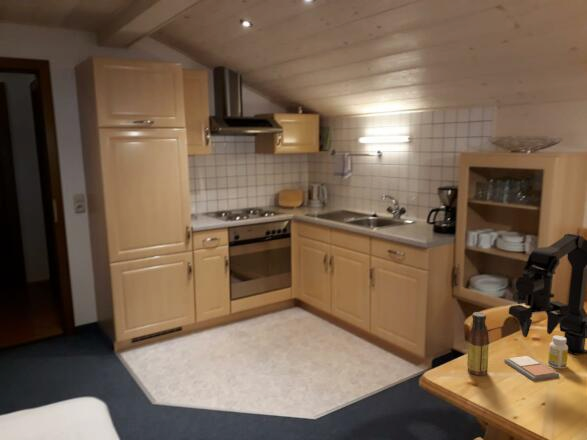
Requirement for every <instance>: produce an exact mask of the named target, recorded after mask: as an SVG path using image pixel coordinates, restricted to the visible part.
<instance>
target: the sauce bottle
mask: <svg viewBox="0 0 587 440" xmlns="http://www.w3.org/2000/svg"><path fill="white" fill-rule="evenodd" d="M471 318H472V326H471V328H470V330H469V332H468V337H467V359H466V360H467V361H466V362H467V364H466V365H467V371H468V372H469V373H470V374H471V375H475V376H479V377H480V376H486V375H487V374H488V368H489V332H488V331H487V328H486V319H487V315H486V313H484V312H481V311H479V312H478V311H474V312H473V313H472V317H471Z"/></svg>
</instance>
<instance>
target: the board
mask: <svg viewBox="0 0 587 440" xmlns="http://www.w3.org/2000/svg"><path fill="white" fill-rule="evenodd" d="M503 362H504V363H505V364H506V365H508V366H510V367H512V368H513V369H514V370H516V371H518V372H519V373H520V374H522V375H523V376H525V377H526V378H528V379H529V380H531V381H533V382H535V381H540V380H546V379H551V378H553V379H555V378H558V377H560V373H559V372H557V371H555V370H554V369H553V368H551V367H549V366H547V365H545V364H544V363H542V362H541V361H539V360H537V359H535V358H533V357H532V356H530V355H524V356H517V357H510V358H505V359H504V361H503Z"/></svg>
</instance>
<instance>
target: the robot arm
mask: <svg viewBox="0 0 587 440" xmlns="http://www.w3.org/2000/svg"><path fill="white" fill-rule="evenodd" d="M566 255H567V261H568V263H569V264H570V266H571V273H570V282H569V283H570V284H569V289H568V290H569V291H568V292H569V293H568V299H567V304H566V303H564V302H561V301H559V300H553V301H551V299H552V298H555V294H554V293H553V292H552V288H553V276H554V275H555V274H556V269H557V268H558V267H559V265H560V260H561V259H562V258H563V257H565V256H566ZM522 270H523V271H524V272H522V276H521V277H519V278H518V279H516V282H515V287H516V290H517V291H513V292H512V300H513V301H514V302H517V304H516V305H511V306H509V308H508V315H510V316H512V317H513V318H516V320H517V322H518V324H519V327H520V329H521V333H522V336H523V337H524V338H527V337H528V335H529V332H530V329H531V326H532V325H531V324H532V323H533V320H532V319H531V318H532V317H533V314H534V315H535V314H542V313H544V314H545V313H546V315H547V323H546V324H547V325H546V333H547V334H548V335H551V334H552V333H553V331H555V329H556V327H557V326H558V325H559V331H560V332H562V333H564V336H563V337H565V338H566V345H567V346H568V353H570V354H572V355H579V354H586V353H587V349H585V345H586V339H587V312H586V310H585V308H584V306H585V300H586V299H585V297H586V290H587V289H586V288H587V239H585V238H584V237H583V236H582V235H579V234H575V233H565V234H564V235H563V236H562V237H561V238H560V239H558V240H556V241H555V242H554V243H552V244H551V245H549V246H542V247H537V248H535V249H533V250H532V251H531V253H529V256H528V258H527V261H526V263H525V265H524V267H523V269H522ZM522 304H524V305H522ZM525 306H527V307H525Z"/></svg>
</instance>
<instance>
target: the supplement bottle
mask: <svg viewBox="0 0 587 440" xmlns="http://www.w3.org/2000/svg"><path fill="white" fill-rule="evenodd" d="M548 348H549V349H548V359H547V361H548V362H547V363H548V365H549V366H550V367H551V368H555V369H566V368H567V364H568V353H569V352H568V346H567V345H566V338H565V337H564V336H562V335H553V336H552V341H551V342H550V343H549V347H548Z"/></svg>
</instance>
